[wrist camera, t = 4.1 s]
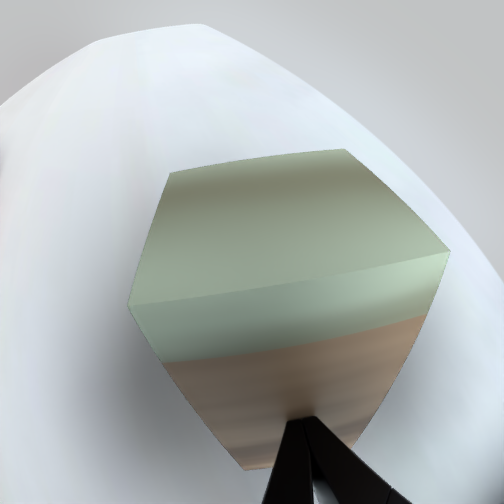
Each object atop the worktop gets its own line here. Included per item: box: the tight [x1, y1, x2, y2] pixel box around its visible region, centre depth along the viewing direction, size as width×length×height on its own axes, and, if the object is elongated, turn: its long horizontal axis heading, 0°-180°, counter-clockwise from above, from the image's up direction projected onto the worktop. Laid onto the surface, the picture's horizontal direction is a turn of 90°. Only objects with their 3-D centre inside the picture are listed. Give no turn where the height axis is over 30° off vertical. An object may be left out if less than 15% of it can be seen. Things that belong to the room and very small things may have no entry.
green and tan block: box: [127, 149, 450, 470], centre depth 10 cm, size 5×5×12 cm
